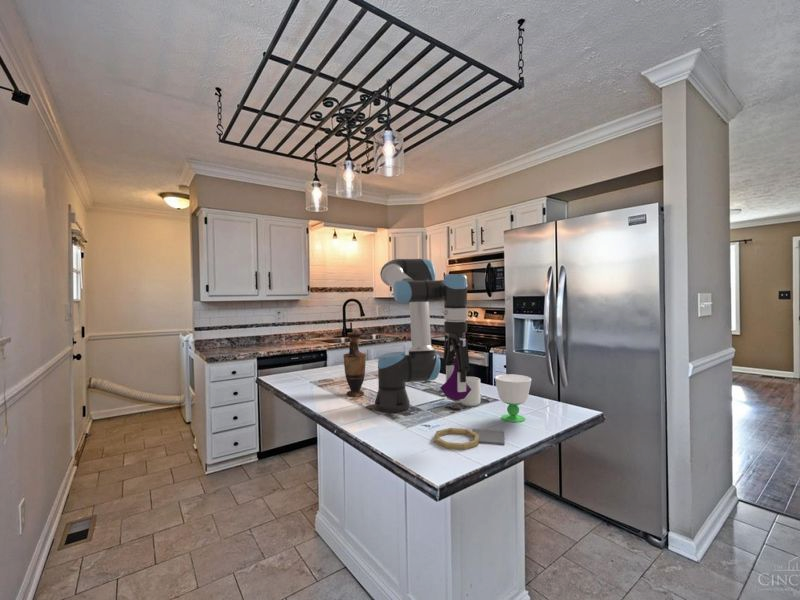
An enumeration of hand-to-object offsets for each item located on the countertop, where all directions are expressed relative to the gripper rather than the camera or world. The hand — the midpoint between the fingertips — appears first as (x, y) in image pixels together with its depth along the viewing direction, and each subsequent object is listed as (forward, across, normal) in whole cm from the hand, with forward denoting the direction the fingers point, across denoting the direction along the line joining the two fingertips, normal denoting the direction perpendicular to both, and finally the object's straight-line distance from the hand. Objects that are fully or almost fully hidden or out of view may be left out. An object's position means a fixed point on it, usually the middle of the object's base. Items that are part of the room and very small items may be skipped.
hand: (455, 387), depth 132 cm
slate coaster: (+18, +1, +11) cm, 21 cm away
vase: (+19, -67, -23) cm, 73 cm away
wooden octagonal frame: (+18, +1, 0) cm, 18 cm away
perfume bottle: (+4, 0, 0) cm, 4 cm away
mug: (+19, -37, +22) cm, 47 cm away
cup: (+18, -13, +30) cm, 37 cm away
